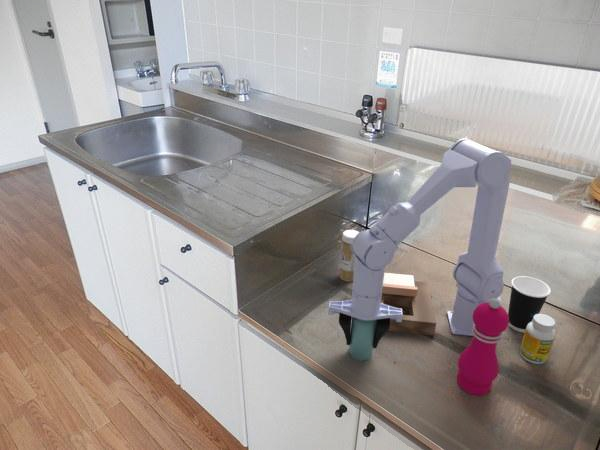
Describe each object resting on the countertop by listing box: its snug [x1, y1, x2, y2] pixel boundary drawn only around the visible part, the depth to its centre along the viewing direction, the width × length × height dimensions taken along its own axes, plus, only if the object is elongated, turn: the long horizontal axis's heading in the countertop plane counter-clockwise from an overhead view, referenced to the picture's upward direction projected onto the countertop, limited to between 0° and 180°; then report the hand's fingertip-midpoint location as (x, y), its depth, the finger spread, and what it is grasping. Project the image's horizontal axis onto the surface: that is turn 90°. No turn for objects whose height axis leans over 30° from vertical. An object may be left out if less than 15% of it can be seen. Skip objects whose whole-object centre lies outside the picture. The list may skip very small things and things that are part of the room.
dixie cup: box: [507, 275, 552, 333], centre depth 102 cm, size 8×8×11 cm
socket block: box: [375, 280, 437, 337], centre depth 107 cm, size 16×16×4 cm
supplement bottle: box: [519, 313, 556, 365], centre depth 93 cm, size 5×5×10 cm
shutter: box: [382, 272, 418, 297], centre depth 110 cm, size 9×9×3 cm
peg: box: [348, 317, 376, 362], centre depth 93 cm, size 5×5×9 cm
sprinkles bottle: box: [339, 229, 360, 283], centre depth 117 cm, size 5×5×14 cm
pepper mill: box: [456, 299, 509, 396], centre depth 83 cm, size 7×7×20 cm
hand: (361, 343), depth 94 cm, fingers closed on peg, 5 cm apart
